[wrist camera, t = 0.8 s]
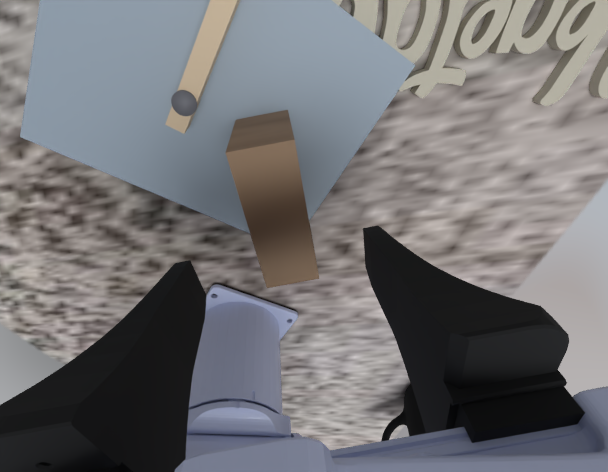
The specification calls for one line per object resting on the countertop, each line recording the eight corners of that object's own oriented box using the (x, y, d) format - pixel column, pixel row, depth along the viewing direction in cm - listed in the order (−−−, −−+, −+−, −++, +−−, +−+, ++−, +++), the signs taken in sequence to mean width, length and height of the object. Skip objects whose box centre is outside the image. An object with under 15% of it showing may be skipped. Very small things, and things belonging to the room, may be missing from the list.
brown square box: (308, 226, 23) (319, 278, 18) (264, 235, 23) (264, 288, 18) (287, 109, 18) (294, 139, 14) (233, 120, 18) (221, 153, 14)
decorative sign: (760, -140, 15) (645, 96, 20) (734, -131, 15) (630, 93, 21) (173, -102, 14) (222, 136, 19) (178, -95, 14) (224, 131, 20)
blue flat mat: (288, 242, 25) (290, 264, 22) (31, 131, 19) (-2, 146, 16) (408, 63, 18) (428, 69, 16) (83, -188, 12) (42, -234, 10)
